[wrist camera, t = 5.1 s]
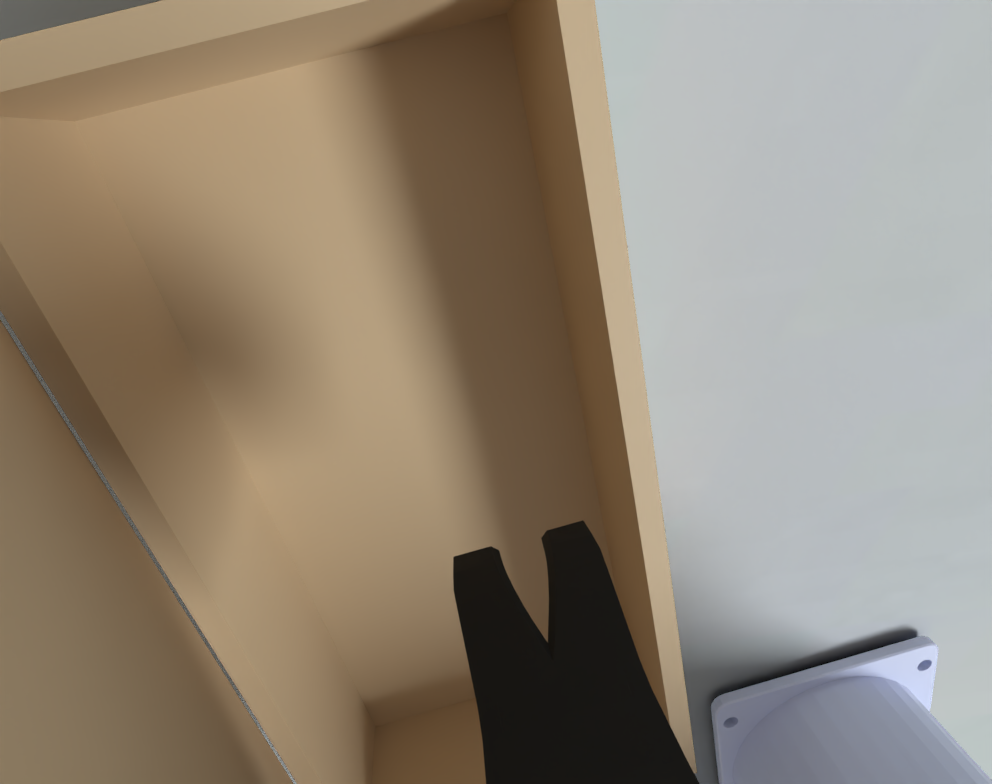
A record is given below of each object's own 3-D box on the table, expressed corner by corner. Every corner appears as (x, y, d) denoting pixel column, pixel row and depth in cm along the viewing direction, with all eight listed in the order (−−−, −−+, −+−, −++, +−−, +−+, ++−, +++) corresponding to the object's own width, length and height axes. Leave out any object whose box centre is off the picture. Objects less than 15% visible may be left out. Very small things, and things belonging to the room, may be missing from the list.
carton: (639, 647, 18) (696, 772, 15) (365, 726, 18) (354, 875, 14) (522, -19, 11) (580, -103, 7) (47, 99, 10) (-147, 76, 7)
